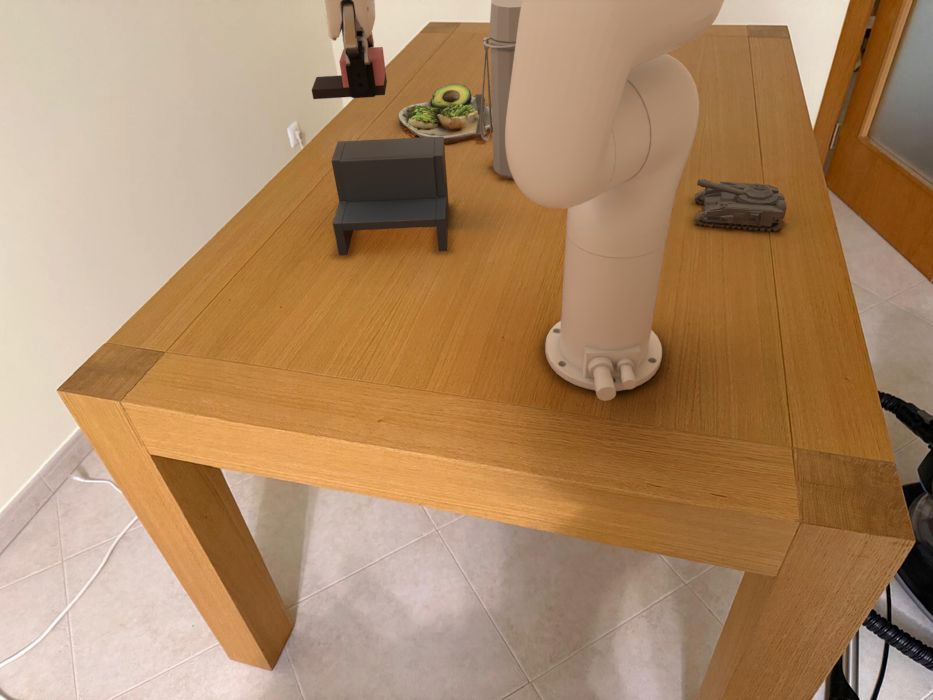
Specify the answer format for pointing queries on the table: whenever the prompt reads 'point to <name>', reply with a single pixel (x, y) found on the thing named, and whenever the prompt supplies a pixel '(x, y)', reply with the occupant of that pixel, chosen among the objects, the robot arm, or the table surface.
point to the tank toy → (740, 205)
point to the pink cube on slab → (339, 84)
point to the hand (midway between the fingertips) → (365, 87)
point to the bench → (390, 187)
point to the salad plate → (447, 115)
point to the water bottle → (500, 75)
